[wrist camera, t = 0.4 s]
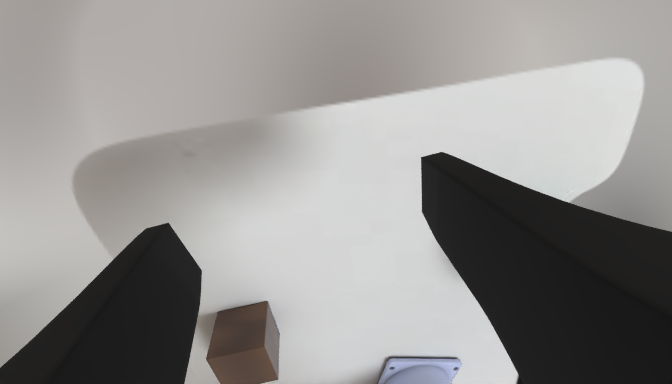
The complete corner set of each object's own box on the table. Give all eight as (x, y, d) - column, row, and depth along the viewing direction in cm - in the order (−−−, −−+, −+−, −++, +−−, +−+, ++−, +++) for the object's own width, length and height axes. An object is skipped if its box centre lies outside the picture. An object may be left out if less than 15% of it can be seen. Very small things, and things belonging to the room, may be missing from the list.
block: (233, 343, 26) (224, 392, 23) (217, 311, 24) (205, 359, 21) (279, 333, 26) (278, 380, 23) (267, 300, 24) (264, 346, 21)
